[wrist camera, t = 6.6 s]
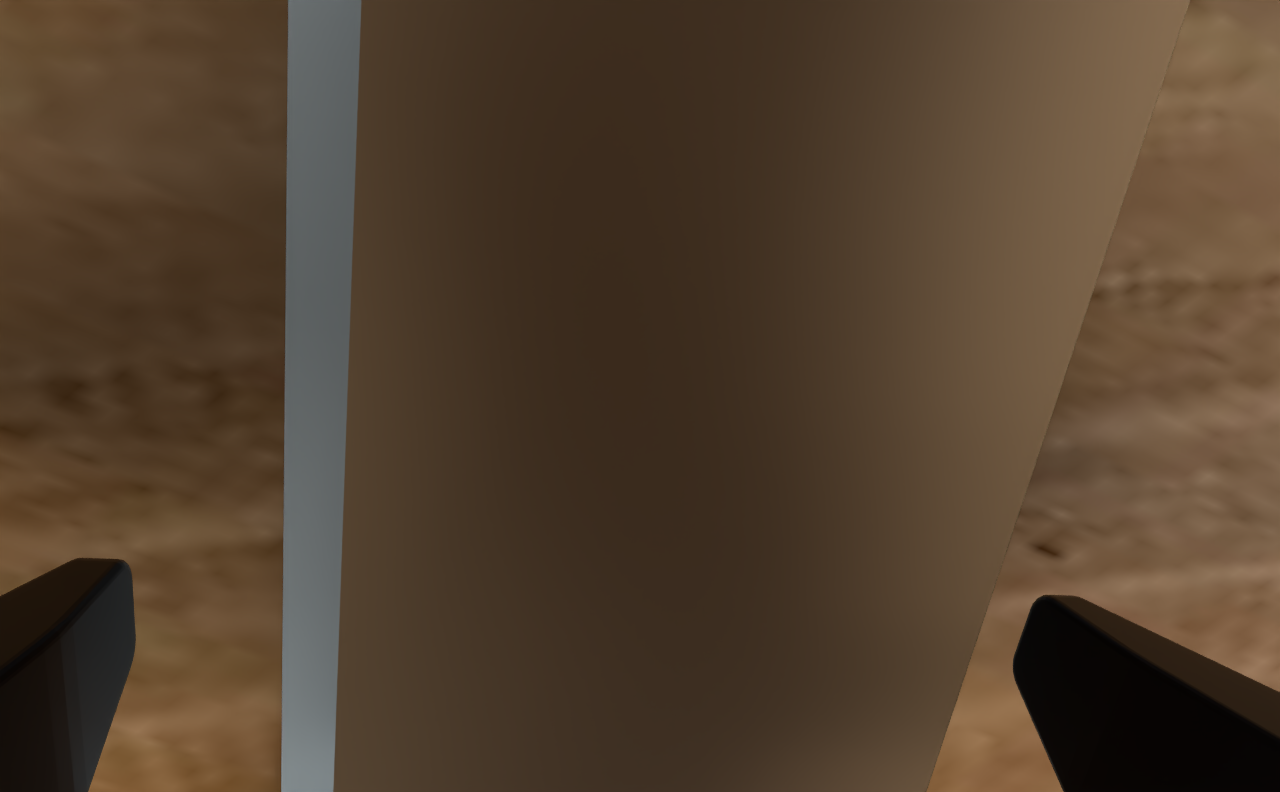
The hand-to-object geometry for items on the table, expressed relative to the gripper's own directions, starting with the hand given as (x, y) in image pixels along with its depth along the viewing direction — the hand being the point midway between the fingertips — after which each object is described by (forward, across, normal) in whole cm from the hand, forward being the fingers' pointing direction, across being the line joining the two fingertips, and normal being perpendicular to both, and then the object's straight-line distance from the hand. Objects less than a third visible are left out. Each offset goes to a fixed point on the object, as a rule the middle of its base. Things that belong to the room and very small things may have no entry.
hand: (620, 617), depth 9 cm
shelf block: (+2, 0, 0) cm, 2 cm away
